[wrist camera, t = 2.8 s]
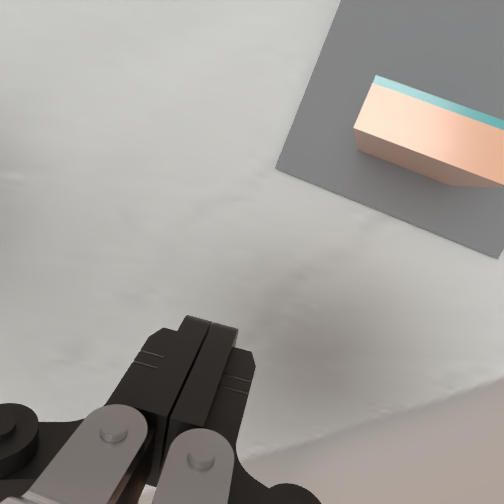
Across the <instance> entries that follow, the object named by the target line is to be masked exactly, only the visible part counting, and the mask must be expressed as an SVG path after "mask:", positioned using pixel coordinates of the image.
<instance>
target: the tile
mask: <svg viewBox="0 0 504 504" xmlns="http://www.w3.org/2000/svg"><path fill="white" fill-rule="evenodd" d="M353 129H354V134H355V140H356V146H357V150H359V151H362V152H364V153H367V154H369V155H372V156H375V157H377V158H380V159H382V160H385V161H387V162H390V163H393V164H395V165H398V166H400V167H403V168H405V169H408V170H411V171H413V172H416V173H418V174H421V175H424V176H426V177H429V178H431V179H434V180H436V181H439V182H442V183H444V184H447V185H451V186H475V187H499V188H504V120H501V119H498V118H496V117H493V116H490V115H487V114H484V113H481V112H479V111H476V110H473V109H470V108H467V107H465V106H462V105H459V104H456V103H453V102H451V101H448V100H445V99H442V98H439V97H437V96H434V95H431V94H428V93H425V92H423V91H420V90H417V89H414V88H411V87H409V86H406V85H403V84H400V83H397V82H395V81H392V80H389V79H386V78H383V77H381V76H378V75H376V76H375V78H374V81H373V83H372V85H371V88H370V90H369V92H368V95H367V97H366V99H365V102H364V104H363V106H362V109H361V111H360V113H359V116H358V118H357V120H356V123H355V125H354V127H353Z"/></svg>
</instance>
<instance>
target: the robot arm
mask: <svg viewBox="0 0 504 504" xmlns="http://www.w3.org/2000/svg"><path fill="white" fill-rule="evenodd" d="M237 335H238V329H236V328H232V327H229V326H225V325H221V324H218V323H213V324H212V322H211V321H207V320H204V319H200V318H196V317H193V316H189V315H187V316H186V317H185V318H184V320H183V322H182V324H181V325H180V327H179V329H178V331H174V330H171V329H167V328H162V329H160V330H159V331H157V332H156V333H154V334H153V335H151V336H149V338H148V339H147V341H146V342H145V344H144V345H143V347H142V349H141V351H140V352H139V353H138V355H137V356H136V358H135V359H134V362H133V363H132V364H131V366H130V367H129V369H128V370H127V372H126V373H125V375H124V376H123V378H122V379H121V381H120V383H119V384H118V386H117V387H116V389H115V390H114V392H113V393H112V395H111V397H110V398H109V400H108V401H107V403H106V404H105V405H104V406H103V407H101V408H98V409H96V410H95V411H93V412H92V413H90V414H89V415H88V416H87V417H86V418H84V419H81V420H78V421H72V422H38V418H37V415H36V414H35V413H34V411H32V410H31V409H30V408H28V407H26V406H24V405H21V404H15V403H6V404H0V504H138V501H139V498H140V495H141V493H142V491H143V488H144V486H145V484H147V485H151V486H154V487H157V488H156V492H155V495H154V498H153V501H152V504H321V503H320V501H319V500H318V499H317V498H316V497H315V496H314V495H313V494H312V493H311V492H310V491H308V490H307V489H305V488H303V487H301V486H298V485H295V484H288V483H284V484H278V485H275V486H273V487H271V488H270V489H269V488H267V487H266V486H264V485H263V484H261V483H260V482H258V481H257V480H255V479H254V478H253V477H252V476H250V475H249V474H248V473H247V472H246V471H245V469H244V468H243V467H242V466H241V464H240V462H239V459H238V457H237V453H236V441H237V437H238V433H239V429H240V425H241V421H242V417H243V413H244V410H245V406H246V402H247V398H248V394H249V390H250V386H251V383H252V379H253V375H254V371H255V367H256V366H255V362H254V359H253V355H252V352H250V351H246V350H243V349H239V348H235V344H236V339H237Z"/></svg>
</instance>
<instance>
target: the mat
mask: <svg viewBox="0 0 504 504" xmlns="http://www.w3.org/2000/svg"><path fill="white" fill-rule="evenodd" d="M376 75H378V76H381V77H383V78H386V79H389V80H392V81H395V82H397V83H400V84H403V85H406V86H409V87H411V88H414V89H417V90H420V91H423V92H425V93H428V94H431V95H434V96H437V97H439V98H442V99H445V100H448V101H451V102H453V103H456V104H459V105H462V106H465V107H467V108H470V109H473V110H476V111H479V112H481V113H484V114H487V115H490V116H493V117H496V118H498V119H501V120H504V0H341V2H340V5H339V7H338V10H337V12H336V15H335V17H334V20H333V22H332V25H331V28H330V30H329V33H328V35H327V38H326V40H325V43H324V45H323V48H322V50H321V53H320V55H319V58H318V61H317V63H316V66H315V68H314V71H313V73H312V76H311V78H310V81H309V83H308V86H307V88H306V91H305V94H304V96H303V99H302V101H301V104H300V106H299V109H298V111H297V114H296V116H295V119H294V121H293V124H292V127H291V129H290V132H289V134H288V137H287V139H286V142H285V144H284V147H283V149H282V152H281V155H280V157H279V160H278V162H277V165H276V167H275V168H276V169H278V170H281V171H283V172H286V173H288V174H291V175H293V176H295V177H298V178H300V179H303V180H305V181H308V182H310V183H313V184H315V185H318V186H320V187H322V188H325V189H327V190H330V191H332V192H335V193H337V194H340V195H342V196H344V197H347V198H349V199H352V200H354V201H357V202H359V203H362V204H364V205H367V206H369V207H371V208H374V209H376V210H379V211H381V212H384V213H386V214H389V215H391V216H394V217H396V218H398V219H401V220H403V221H406V222H408V223H411V224H413V225H416V226H418V227H420V228H423V229H425V230H428V231H430V232H433V233H435V234H438V235H440V236H443V237H445V238H447V239H450V240H452V241H455V242H457V243H460V244H462V245H465V246H467V247H470V248H472V249H474V250H477V251H479V252H482V253H484V254H487V255H489V256H492V257H494V258H496V259H498V258H499V256H500V254H501V252H502V251H503V249H504V188H499V187H475V186H451V185H447V184H444V183H442V182H439V181H436V180H434V179H431V178H429V177H426V176H424V175H421V174H418V173H416V172H413V171H411V170H408V169H405V168H403V167H400V166H398V165H395V164H393V163H390V162H387V161H385V160H382V159H380V158H377V157H375V156H372V155H369V154H367V153H364V152H362V151H359V150H357V146H356V140H355V134H354V129H353V127H354V125H355V123H356V120H357V118H358V116H359V113H360V111H361V109H362V106H363V104H364V102H365V99H366V97H367V95H368V92H369V90H370V88H371V85H372V83H373V81H374V78H375V76H376Z"/></svg>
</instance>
